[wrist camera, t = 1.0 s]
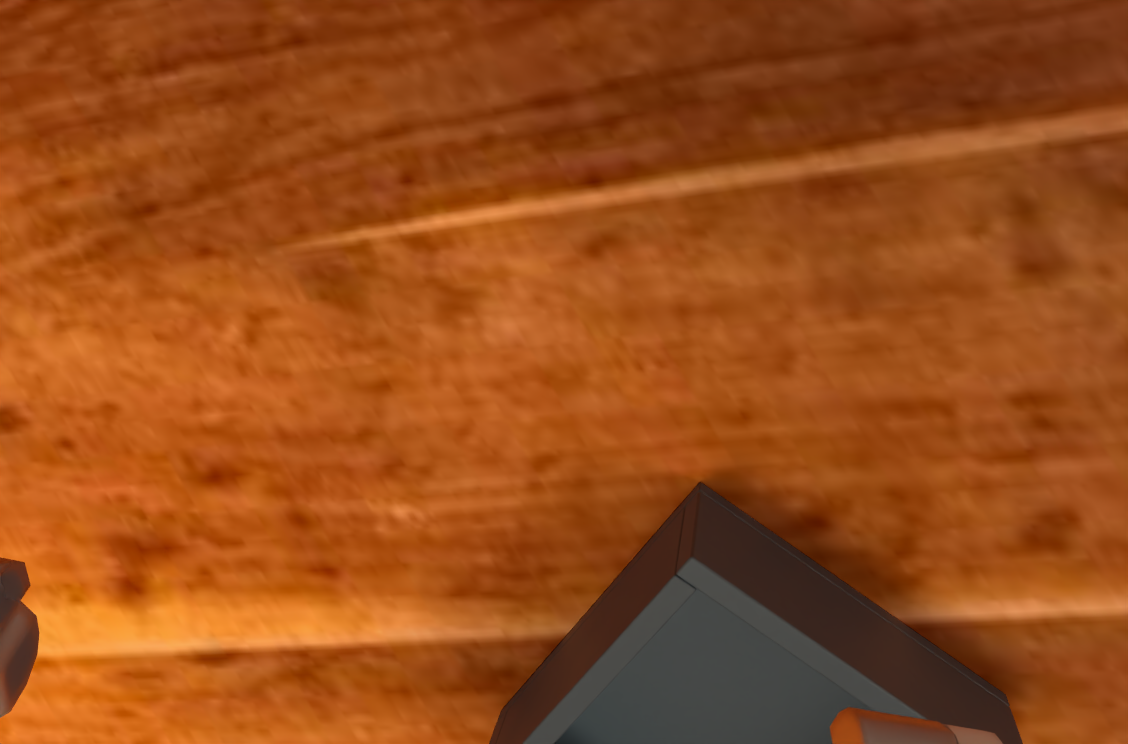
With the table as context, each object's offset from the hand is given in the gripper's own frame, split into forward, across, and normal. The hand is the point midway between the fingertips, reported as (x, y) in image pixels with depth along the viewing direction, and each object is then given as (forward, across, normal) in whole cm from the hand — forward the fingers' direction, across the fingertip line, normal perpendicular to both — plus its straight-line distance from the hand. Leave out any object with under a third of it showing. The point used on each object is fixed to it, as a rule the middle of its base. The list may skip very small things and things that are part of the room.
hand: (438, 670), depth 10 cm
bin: (+15, -10, +20) cm, 27 cm away
